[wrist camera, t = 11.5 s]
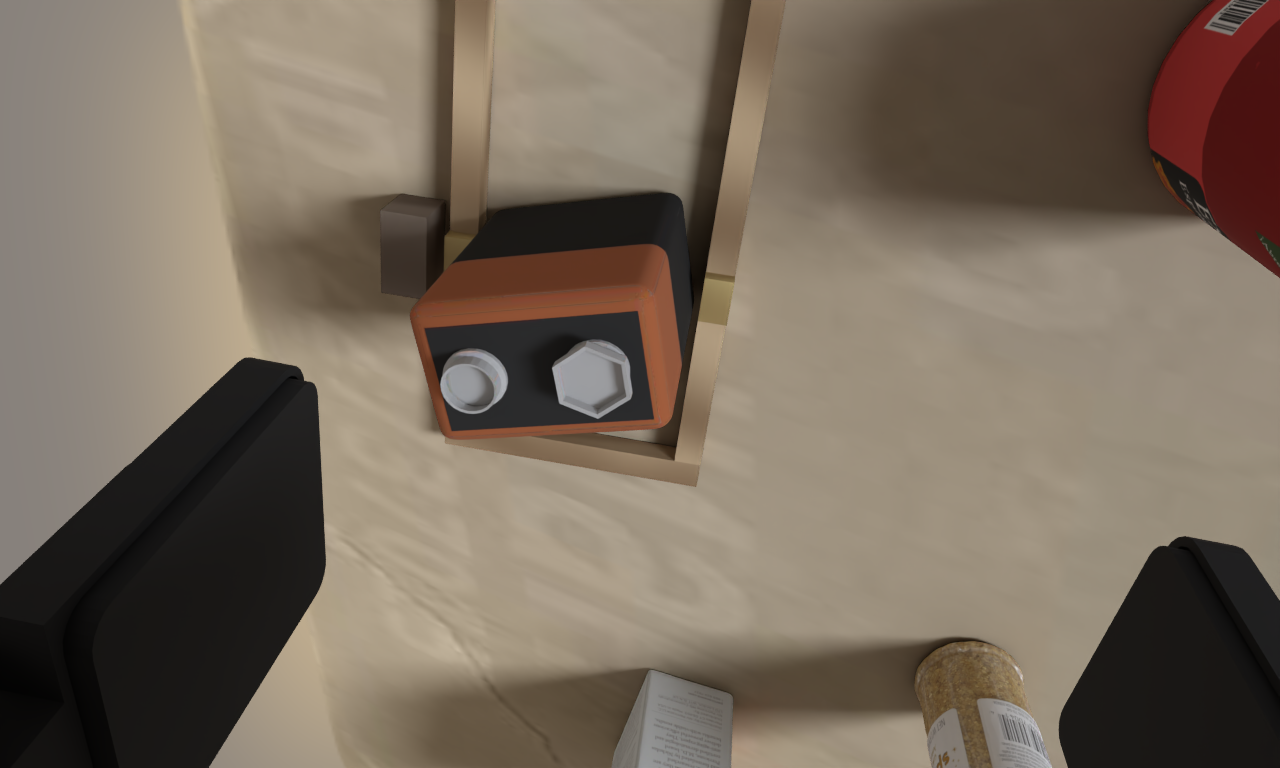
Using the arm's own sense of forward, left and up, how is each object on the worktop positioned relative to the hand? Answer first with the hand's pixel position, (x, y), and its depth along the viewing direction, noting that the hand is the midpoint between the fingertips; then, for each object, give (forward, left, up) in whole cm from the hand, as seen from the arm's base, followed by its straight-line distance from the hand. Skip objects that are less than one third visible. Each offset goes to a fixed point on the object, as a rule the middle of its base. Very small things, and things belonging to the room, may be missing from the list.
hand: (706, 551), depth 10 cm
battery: (+5, -5, -23) cm, 23 cm away
